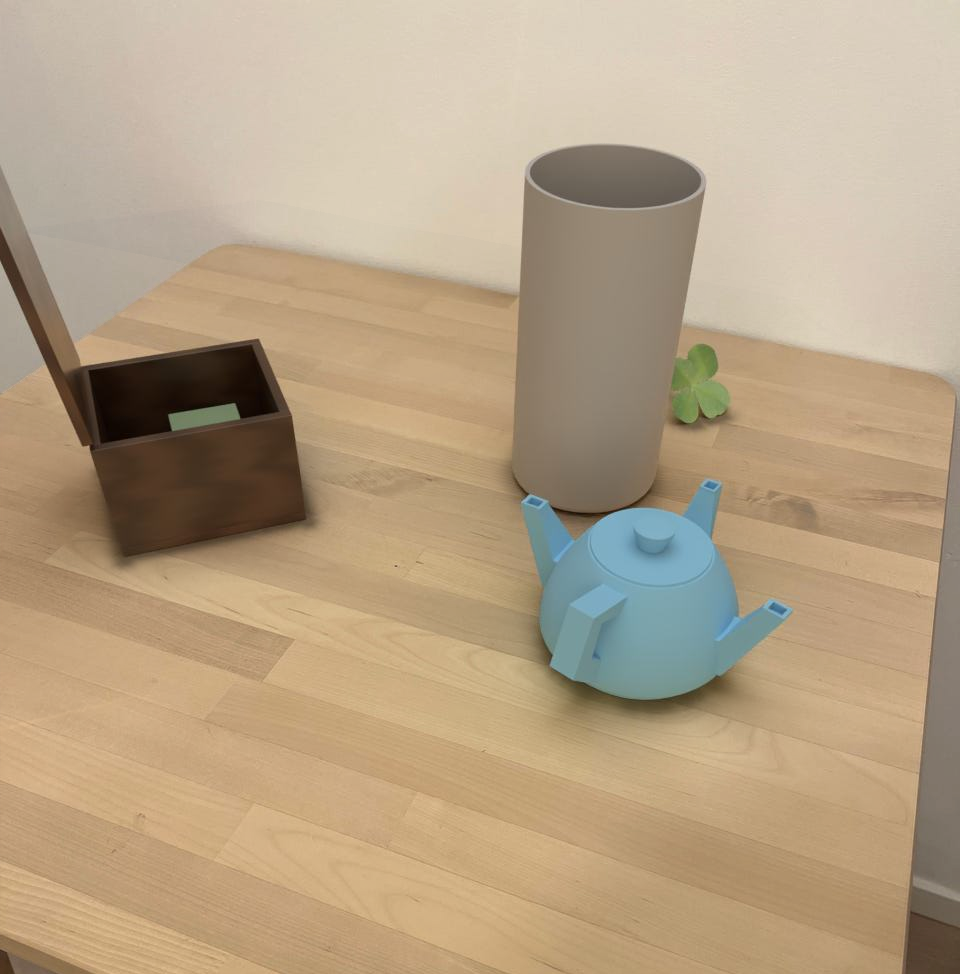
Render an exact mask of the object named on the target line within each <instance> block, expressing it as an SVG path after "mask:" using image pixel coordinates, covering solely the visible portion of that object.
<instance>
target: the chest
mask: <svg viewBox="0 0 960 974" xmlns="http://www.w3.org/2000/svg"><path fill="white" fill-rule="evenodd" d="M81 369H82V375H83V381H84V388H85V394H86V400H87V406H88V413H89V419H90V425H91V431H92V438H93V444H92V445H89V452H90V453H89V454H90V456H91V460H92V462H93V465H94V468H95V473H96V475H97V477H98V481H99V485H100V487H101V490H102V494H103V497H104V500H105V503H106V506H107V509H108V513H109V515H110V518H111V522H112V525H113V527H114V531H115V534H116V537H117V540H118V543H119V546H120V550H121V552H122V556H123V557H129V556H134V555H139V554H144V553H148V552H152V551H157V550H162V549H167V548H172V547H178V546H182V545H186V544H191V543H196V542H201V541H206V540H210V539H211V540H212V539H215V538H220V537H225V536H231V535H234V534H235V535H236V534H240V533H244V532H249V531H254V530H259V529H263V528H268V527H273V526H279V525H282V524H287V523H292V522H296V521H303V520H305V519H307V513H306V506H305V505H306V504H305V498H304V490H303V483H302V476H301V469H300V462H299V455H298V448H297V441H296V433H295V426H294V419H293V414H292V412H291V410H290V407H289V404H288V403H287V400H286V398H285V395H284V393H283V391H282V389H281V386H280V384H279V381H278V379H277V377H276V376H275V373H274V370H273V368H272V365H271V363H270V361H269V359H268V357H267V354H266V352H265V349H264V346H263V344H262V342H261V339H260V338H254V339H253V338H251V339H247V340H246V339H245V340H240V341H233V342H227V343H221V344H220V343H219V344H215V345H208V346H201V347H194V348H189V349H182V350H176V351H169V352H164V353H163V352H162V353H157V354H156V353H155V354H151V355H144V356H138V357H132V358H125V359H119V360H118V359H117V360H112V361H107V362H106V361H105V362H100V363H94V364H86V365H81ZM233 403H235V404H236V407H237V409H238V412H239V415H240V418H241V419H237V420H232V421H226V422H220V423H215V424H209V425H204V426H198V427H192V428H187V429H181V430H175V431H172V430H171V426H170V421H169V417H168V415H169V414H174V413H180V412H186V411H191V410H197V409H203V408H209V407H215V406H221V405H227V404H233Z"/></svg>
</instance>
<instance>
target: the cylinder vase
mask: <svg viewBox="0 0 960 974" xmlns="http://www.w3.org/2000/svg"><path fill="white" fill-rule="evenodd" d="M706 189H707V177H706V175H705V173H704V171H702V169H700V167H698V166H697V165H696V164H695V163H693V162H691V161H689V160H688V159H686V158H683V157H681V156H679V155H676V154H673V153H670V152H667V151H664V150H660V149H656V148H652V147H647V146H641V145H634V144H633V145H632V144H626V143H625V144H623V143H583V144H573V145H567V146H563V147H558V148H554V149H551V150H548V151H544V152H543V153H540V154H539V155H536V156H535V157H533V158H532V159H531V160H530V161H529V162H528V163H527V164H526V167H525V169H524V184H523V204H522V205H523V209H522V228H521V250H520V251H521V252H520V271H519V272H520V273H519V292H518V293H519V295H518V297H519V299H518V313H517V316H518V317H517V338H516V340H517V341H516V359H515V360H516V362H515V381H514V382H515V385H514V403H513V404H514V406H513V407H514V408H513V426H512V427H513V428H512V429H513V430H512V432H513V433H512V447H511V448H512V449H511V451H512V452H511V468H512V473H513V476H514V479H515V480H516V481H517V483H518V484H519V486H520V487H521V488H522V489H523V490H524V491H525V492H526V493H527V494H528V495H529V494H531V495H534V496H537V497H539V498H542V499H545V500H547V501H549V505H550V507H551V508H555V509H558V510H562V511H567V512H571V513H572V512H573V513H581V514H599V513H606V512H607V513H608V512H613V511H617V510H620V509H623V508H626V507H628V506H630V505H632V504H634V503H635V502H638V501H639V500H640V499H642V497H644V496H645V495H646V494H647V493H648V492H649V490H650V489H651V488H652V486H653V484H654V482H655V479H656V475H657V469H658V463H659V458H660V454H661V453H660V452H661V446H662V440H663V435H664V430H665V423H666V417H667V411H668V406H669V400H670V396H671V391H672V390H671V384H672V378H673V372H674V367H675V361H676V358H677V354H678V348H679V343H680V336H681V331H682V325H683V319H684V316H685V315H684V314H685V308H686V302H687V297H688V296H687V295H688V291H689V285H690V280H691V274H692V269H693V264H694V257H695V252H696V247H697V240H698V239H697V238H698V233H699V228H700V221H701V216H702V210H703V205H704V199H705V194H706V193H705V192H706Z"/></svg>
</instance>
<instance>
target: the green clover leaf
mask: <svg viewBox="0 0 960 974" xmlns="http://www.w3.org/2000/svg"><path fill="white" fill-rule="evenodd" d="M686 357H687V359H686V358H683V357H681V356H678V357H676V361H675V367H674V372H673V378H672V384H671V390H670V391H672V392H678V391H680V392H678V393H676V394H675V395H674V397H673V398H672V400H671V407H672V410H673V413H674V415H675V416H676V418H678V419H679V420H681V421H682V422H684V423H685V424H692V423H694V422H696V420H697V419H698V417H699V408H701V411H702V413H703V415H704V416H705V417H706V418H707V419H714V418H716V417H718V416H721V415H723V414H724V413H725V411H726V410H727V409H728V408H729V406H730V403H731V395H730V392H729V390H728V388H727V387H726V386H724V384H722V383H721V382H719V381H716V380H713V377H714V376H716V374H717V373H718V371H719V360H718V357H717V354H716V351H715V349H714V348H713V347H712V346H710V345H708V344H705V343H699V344H694V346H692V347H690V349H689V350H688V352H687V355H686Z"/></svg>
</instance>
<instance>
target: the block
mask: <svg viewBox="0 0 960 974" xmlns="http://www.w3.org/2000/svg"><path fill="white" fill-rule="evenodd" d="M168 417H169V421H170V426H171V430H172V431H175V430H181V429H187V428H192V427H198V426H204V425H209V424H215V423H220V422H226V421H232V420H237V419H241V418H240V415H239V412H238V409H237V407H236V404H235V403H233V404H227V405H221V406H215V407H209V408H203V409H197V410H191V411H186V412H180V413H174V414H169V415H168Z"/></svg>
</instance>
